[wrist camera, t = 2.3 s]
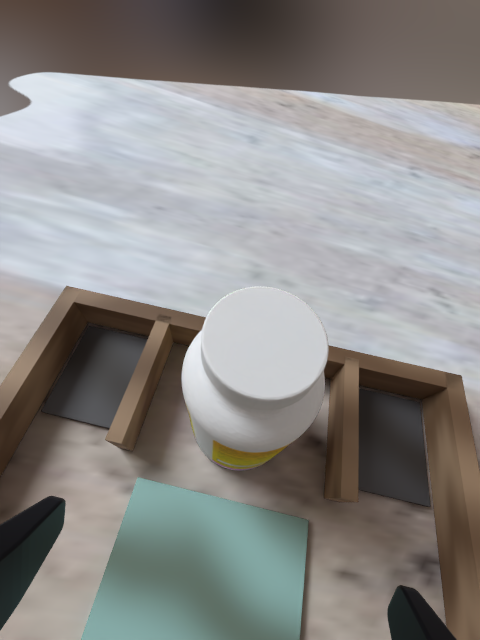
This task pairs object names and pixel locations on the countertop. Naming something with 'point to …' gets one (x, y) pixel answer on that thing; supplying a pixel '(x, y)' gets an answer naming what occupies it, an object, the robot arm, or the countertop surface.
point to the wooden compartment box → (233, 517)
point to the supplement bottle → (254, 376)
